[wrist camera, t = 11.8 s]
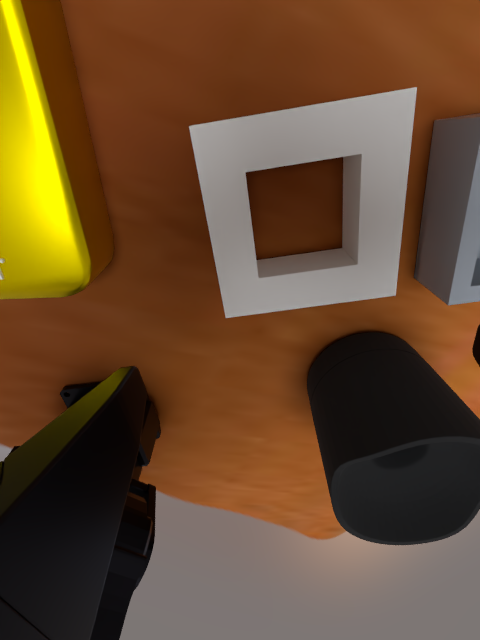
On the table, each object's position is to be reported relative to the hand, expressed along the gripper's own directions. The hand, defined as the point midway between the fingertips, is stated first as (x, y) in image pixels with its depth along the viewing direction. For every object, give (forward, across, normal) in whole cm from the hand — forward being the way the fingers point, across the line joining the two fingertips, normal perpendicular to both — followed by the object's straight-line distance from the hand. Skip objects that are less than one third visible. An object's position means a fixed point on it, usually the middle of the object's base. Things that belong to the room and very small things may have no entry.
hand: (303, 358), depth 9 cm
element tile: (+14, +16, -7) cm, 22 cm away
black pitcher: (+13, -6, +12) cm, 19 cm away
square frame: (+13, -2, -1) cm, 13 cm away
